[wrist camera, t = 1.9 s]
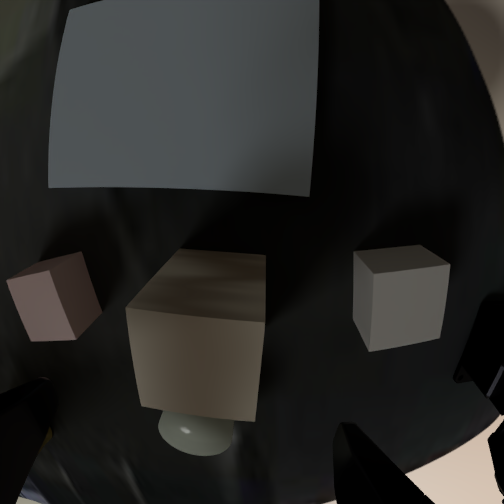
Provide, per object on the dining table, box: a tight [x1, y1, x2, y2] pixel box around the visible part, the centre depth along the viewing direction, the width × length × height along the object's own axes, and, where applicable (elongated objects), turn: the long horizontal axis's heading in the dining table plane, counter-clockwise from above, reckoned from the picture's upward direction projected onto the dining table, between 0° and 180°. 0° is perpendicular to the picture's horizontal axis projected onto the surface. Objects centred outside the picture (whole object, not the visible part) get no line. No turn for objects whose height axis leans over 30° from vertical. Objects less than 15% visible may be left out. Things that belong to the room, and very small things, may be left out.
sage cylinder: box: [158, 410, 234, 456], centre depth 17 cm, size 4×4×4 cm
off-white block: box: [353, 245, 450, 352], centre depth 15 cm, size 4×4×4 cm
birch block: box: [126, 249, 266, 422], centre depth 13 cm, size 4×4×7 cm
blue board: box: [48, 0, 319, 197], centre depth 13 cm, size 14×11×1 cm
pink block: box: [6, 251, 102, 341], centre depth 16 cm, size 4×4×4 cm
